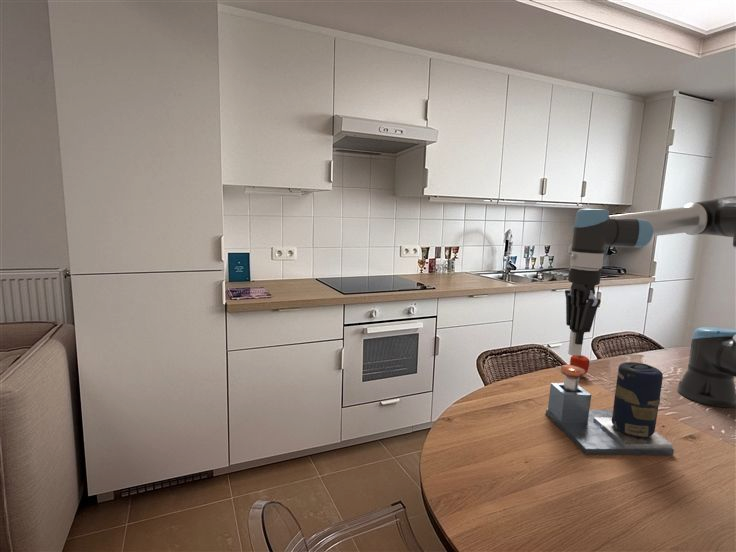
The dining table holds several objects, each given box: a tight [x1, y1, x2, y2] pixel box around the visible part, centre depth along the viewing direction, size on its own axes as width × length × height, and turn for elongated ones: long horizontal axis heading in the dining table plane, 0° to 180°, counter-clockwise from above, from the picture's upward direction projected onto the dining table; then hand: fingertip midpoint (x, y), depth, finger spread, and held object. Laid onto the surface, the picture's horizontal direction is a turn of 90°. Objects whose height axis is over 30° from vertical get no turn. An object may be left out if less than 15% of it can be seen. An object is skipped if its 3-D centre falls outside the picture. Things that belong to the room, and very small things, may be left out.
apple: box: [569, 354, 590, 376], centre depth 148 cm, size 6×6×8 cm
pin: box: [560, 364, 586, 392], centre depth 113 cm, size 6×6×9 cm
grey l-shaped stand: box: [545, 382, 675, 456], centre depth 109 cm, size 22×20×10 cm
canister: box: [612, 361, 664, 437], centre depth 105 cm, size 10×10×18 cm
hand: (574, 354), depth 112 cm, fingers closed
